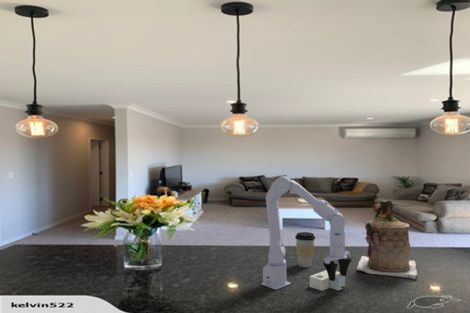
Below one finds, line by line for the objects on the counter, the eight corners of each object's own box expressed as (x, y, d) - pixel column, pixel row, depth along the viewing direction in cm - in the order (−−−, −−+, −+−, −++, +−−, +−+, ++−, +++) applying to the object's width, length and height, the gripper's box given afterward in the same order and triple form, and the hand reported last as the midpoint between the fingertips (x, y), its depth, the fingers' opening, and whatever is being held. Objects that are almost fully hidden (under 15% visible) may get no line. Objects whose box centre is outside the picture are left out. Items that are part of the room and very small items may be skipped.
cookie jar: (416, 264, 174) (415, 197, 174) (417, 281, 152) (417, 204, 151) (361, 258, 184) (361, 195, 184) (355, 273, 162) (355, 201, 162)
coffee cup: (292, 266, 172) (292, 234, 171) (298, 261, 180) (298, 231, 180) (312, 269, 167) (312, 236, 167) (317, 264, 175) (317, 232, 175)
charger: (324, 286, 146) (324, 274, 146) (331, 283, 149) (331, 272, 149) (345, 292, 139) (345, 280, 139) (351, 289, 141) (351, 278, 141)
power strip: (309, 286, 146) (309, 274, 146) (335, 276, 158) (335, 265, 158) (322, 290, 142) (322, 278, 141) (348, 280, 153) (348, 268, 153)
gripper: (335, 248, 136) (335, 285, 136) (356, 242, 145) (356, 276, 145) (319, 245, 141) (320, 280, 141) (341, 239, 151) (341, 272, 151)
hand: (337, 278), depth 144 cm, fingers open, 7 cm apart
